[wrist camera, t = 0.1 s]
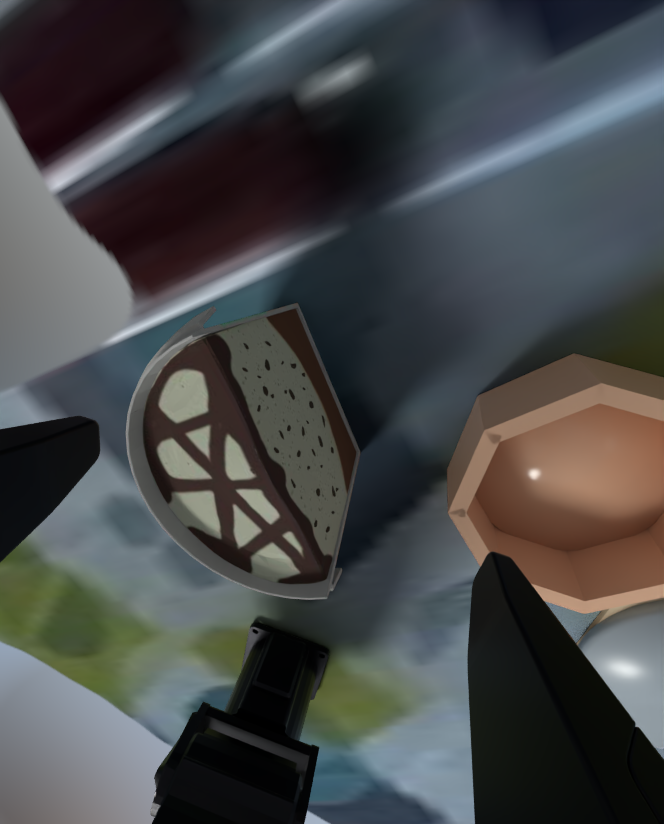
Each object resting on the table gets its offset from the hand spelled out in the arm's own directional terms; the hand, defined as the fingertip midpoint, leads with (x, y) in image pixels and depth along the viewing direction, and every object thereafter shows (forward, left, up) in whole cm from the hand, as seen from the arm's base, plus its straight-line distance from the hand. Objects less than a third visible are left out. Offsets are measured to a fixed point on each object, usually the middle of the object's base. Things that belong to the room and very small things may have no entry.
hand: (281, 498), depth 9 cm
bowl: (-4, -12, -15) cm, 19 cm away
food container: (-5, +4, -15) cm, 16 cm away
